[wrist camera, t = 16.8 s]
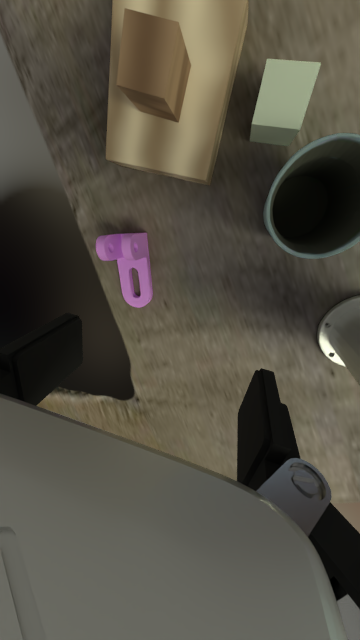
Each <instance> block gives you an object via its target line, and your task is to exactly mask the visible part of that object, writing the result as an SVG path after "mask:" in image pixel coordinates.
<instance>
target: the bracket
mask: <svg viewBox="0 0 360 640" xmlns="http://www.w3.org/2000/svg"><path fill="white" fill-rule="evenodd" d="M96 251H97V254H98V256H99V258H100V259H101V260H103V261H113V260H116V259H117V263H118V269H119V276H120V282H121V288H122V294H123V297H124V299H125V301H126V302H127V303H128V304H130V305H131V306H133V307H138V308H139V307H143V306H145V305H147V304H148V303H149V302H150V301H151V299H152V296H153V290H152V280H151V270H150V260H149V250H148V240H147V233H125V234H111V235H103V236H99V237H98V238H97V240H96ZM132 268H135V269H137V271H138V275H139V283H140V291H141V296H137V295H136V294H135V292H134V286H133V278H132Z"/></svg>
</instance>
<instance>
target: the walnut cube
mask: <svg viewBox="0 0 360 640" xmlns="http://www.w3.org/2000/svg"><path fill="white" fill-rule="evenodd" d="M190 69H191V63H190V60H189V56H188V53H187V49H186V46H185V42H184V39H183V35H182V32H181V29H180V25H179V22H177V21H173V20H169V19H165V18H161V17H157V16H153V15H150V14H146V13H142V12H138V11H134V10H130V9H126V8H125V9H124V18H123V28H122V37H121V46H120V55H119V65H118V74H117V83H116V85H117V86H118V87H119V88H120V90H121V91H122V92H123V93H124V94H125V95H126V96H127V97H128V98H129V100H130V101H131V102H132V103H133V104H134V105H135V106H136V107H137V109H138V110H139V111H140V112H144V113H147V114H150V115H154V116H157V117H161V118H164V119H167V120H171V121H174V122H178V123H179V119H180V115H181V110H182V105H183V101H184V96H185V92H186V87H187V82H188V78H189V73H190Z"/></svg>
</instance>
